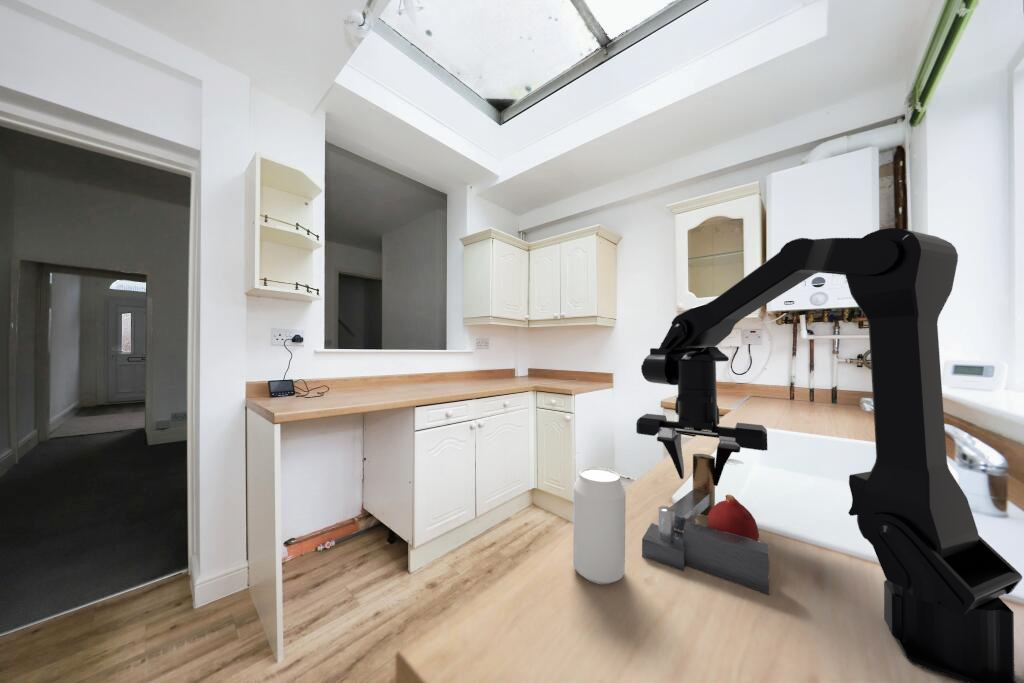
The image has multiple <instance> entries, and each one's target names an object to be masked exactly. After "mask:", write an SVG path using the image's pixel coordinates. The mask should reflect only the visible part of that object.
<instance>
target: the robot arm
mask: <svg viewBox="0 0 1024 683" xmlns="http://www.w3.org/2000/svg"><path fill="white" fill-rule="evenodd" d="M958 258H959V254H958V252H957V248H956V247H955V246H954V244H952V242H949V241H948V240H946V239H944V238H941V237H939V236H937V235H932V234H926V233H923V232H919V231H918V232H917V231H914V230H908V229H904V228H897V227H896V228H895V227H888V228H882V229H878V230H875V231H872V232H870V233H868V234H866V235H864V236H862V237H829V238H815V239H812V238H807V237H799V238H795V239H792V240H790V241H788V242H785V244H784V245H782V247H781V249H780V250H779V252H777V253H776V254H775V255H773V256H772V257H770V258H769V259H768V260H766V261H765V262H764V263H762V264H761V265H760V266H758V267H756V269H754V270H752V271H751V272H749V274H747V275H746V276H744V277H742V278H741V279H740V280H739V281H738V282H737V283H735V284H734V285H732V286H731V287H730V288H728V289H727V290H726V291H724V292H723V293H721V294H720V295H718V296H717V297H716V298H715V299H713V300H711V301H709V302H706V303H703V304H700V305H696V306H693V307H691V308H688V309H687V310H685V311H683V312H681V313H679V314H678V315H676V316H675V317H674V318H673V319H672V321H671V326H670V328H669V329H668V331H667V333H666V334H665V337H664V339H663V341H662V342H661V343H660V345H659V347H655V348H654V347H652V348H649V355H647V356H646V357H645V358H644V359H643V361H642V364H641V366H640V367H641V368H640V369H641V374H642V376H643V378H644V379H645V380H646V381H647V382H648V383H652V384H660V385H662V384H663V385H669V386H677V396H676V397H675V405H674V406H675V407H674V408H675V409H674V411H675V414H676V415H677V416H678V421H674V420H673V421H672V420H667V416H666V415H665V414H662V415H661V414H653V413H645V414H643V415H642V416H640V417H639V418H637V420H636V424H635V425H636V430H635V431H636V434H638V435H645V436H653V437H654V436H656V435H657V434H658V436H657V437H656V441H657V442H659V443H662V444H663V445H664V447H665V449H666V450H667V452H668V455H669V456H670V459H671V460H672V462H673V464H674V468H675V469H676V472H677V474H678V476H679V479H681V480H684V478H685V465H684V457H683V450H682V434H685V435H693V436H699V437H700V436H702V437H709V438H717V439H719V442H718V444H717V446H716V456H715V473H714V484H715V487H717V486H718V485H719V482H720V480H721V476H722V474H723V470H724V467H725V466H726V463H727V461H728V460H729V459H730V457H731V454H733V453H737V454H738V453H740V452H741V449H747V450H748V449H749V450H755V451H756V450H757V451H768V429H767V428H766V427H765V426H763V424H756V423H755V424H754V423H746V422H745V423H744V422H736V425H735V427H730V426H722V425H721V426H720V408H719V406H718V401H717V399H718V397H717V396H718V394H717V363H718V362H728V361H729V360H730V358H729V356H727V355H726V354H725V353H723V352H722V351H721V350H720V349H719V348H718V345H720V343H721V342H722V341H724V340H725V339H726V338H727V337H729V336H730V335H731V333H732V332H733V330H734V327H735V326H736V325H737V324H738V323H739V322H740V321H741V320H743V319H744V318H746V317H748V316H749V315H751V314H752V313H754V312H756V311H757V310H759V309H761V308H762V307H764V306H766V305H767V304H768V303H770V302H772V301H773V300H775V299H777V298H778V297H780V296H782V295H783V294H785V293H786V292H787V291H789V290H791V289H792V288H795V287H796V286H798V285H799V284H801V283H802V282H804V281H806V280H808V279H809V278H811V277H812V276H814V275H816V274H818V273H821V274H832V275H840V276H841V275H842V276H845V278H846V282H847V285H848V289H849V292H850V295H851V297H852V299H853V300H854V302H855V303H856V305H857V307H858V309H859V310H860V311H861V313H862V314H863V316H864V317H865V319H866V321H867V325H868V336H869V338H868V340H869V354H870V356H869V357H870V368H871V369H870V370H871V371H870V372H871V385H872V387H871V389H872V391H871V392H872V404H873V405H872V407H873V422H874V424H873V425H874V441H875V461H874V463H873V467H872V468H871V470H870V471H864V472H859V473H858V472H857V473H852V474H849V475H848V486H849V490H850V493H851V499H852V501H851V507H850V508H849V510H848V515H850V516H856V522H857V523H856V524H857V526H858V530H859V532H860V535H861V536H862V537H863V538H864V539H865V540H867V541H868V542H869V543H870V544H871V545H872V547H873V548H872V549H873V550H874V552H875V554H876V557H877V560H878V562H879V564H880V567H881V569H882V572H883V575H884V577H885V580H884V581H883V595H884V596H883V605H884V607H883V609H884V610H883V614H884V615H883V620H884V621H885V623H886V626H887V628H888V630H889V632H890V634H891V636H892V637H893V638H894V639H895V640H897V643H898V644H899V646H900V648H901V650H902V653H903V655H904V656H905V658H906V659H907V660H909V661H910V662H911V663H914V664H916V665H919V666H921V667H924V668H927V669H928V670H933V671H935V672H938V673H941V674H944V675H946V676H948V677H951V678H955V679H956V680H959V681H962V682H965V683H1018V682H1017V681H1016V679H1015V630H1014V629H1015V621H1014V611H1013V610H1012V609H1011V607H1009V606H1008V605H1007V604H1006V603H1005V602H1004V600H1002V599H1001V598H1000V596H1003V595H1009V594H1012V592H1013V591H1014V590H1015V589H1016V587H1017V586H1018V585H1019V583H1020V582H1021V581H1022V580H1023V575H1022V574H1021V573H1020V572H1019V571H1018V570H1017V569H1016V568H1015V567H1014V566H1012V564H1010V562H1008V561H1007V560H1006V559H1005V558H1004V557H1003V556H1002V555H1001V554H1000V553H999V552H998V551H997V550H995V549H994V548H993V547H992V546H991V545H990V544H989V543H988V542H986V541H985V540H984V539H983V537H982V536H980V535H979V531H978V527H977V525H976V521H975V518H974V516H973V513H972V509H971V506H970V503H969V500H968V498H967V496H966V494H965V493H964V491H963V489H962V488H961V486H960V484H959V483H958V482H957V480H956V479H955V477H954V475H953V474H952V472H951V470H950V468H949V465H948V458H947V456H948V455H947V444H946V443H947V442H946V428H945V427H946V426H945V414H944V400H943V388H942V371H941V359H940V358H941V356H940V345H939V344H940V342H939V331H938V330H939V329H938V328H939V327H938V321H939V317H940V315H941V313H942V310H943V309H944V307H945V305H946V303H947V301H948V299H949V297H950V296H951V294H952V291H953V287H954V281H955V277H956V272H957V266H958V262H959V261H958V260H959V259H958ZM716 362H717V363H716Z"/></svg>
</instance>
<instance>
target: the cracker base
mask: <svg viewBox="0 0 1024 683" xmlns="http://www.w3.org/2000/svg"><path fill="white" fill-rule="evenodd" d="M670 507H671V506H666V505H660V506H659V507H658V518H657V519H658V522H657V523H658V524H656V523H654V522H652V523H651V524H650V525H649V526H648V528H647V530H646V531H645V534H644V535H643V536H642V538H641V542H642V543H641V557H642V558H644V559H647V560H650V561H653V562H655V563H657V564H658V563H659V564H662V565H664V566H666V567H667V566H668V567H670V568H672V569H675V570H678V571H681V572H685V569H686V567H687V568H689V569H692V570H695V571H698V572H701V573H703V574H704V573H705V574H707V575H710V576H711V577H715V578H719V579H721V580H724V581H727V582H729V583H734V584H735V585H739V586H741V587H744V588H747V589H750V590H753V591H756V592H759V593H761V594H764V595H767V596H770V549H769V543H765V542H761V541H759V540H758V541H755V540H753V539H750V538H746V537H742V536H739V535H735V534H732V533H728V532H722V531H719V530H715V529H712V528H708V526H705V525H701V524H697V523H695V524H694V523H690V522H686V523H685V525H684V528H683V531H680V530H679V531H678V530H677V529H675V510H674V509H673V508H670Z"/></svg>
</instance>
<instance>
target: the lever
mask: <svg viewBox="0 0 1024 683" xmlns="http://www.w3.org/2000/svg"><path fill="white" fill-rule="evenodd" d="M715 463H716V456H713V455H710V454H706V453H693V454H692V490H690V491H689V492H688V493H686V494H685V495H684V496H682V497H681V498H680V499H678V501H676V502H675V503H673V504H672V505H670V506H669V507H670V508H673V509H674V510H675V530H677V531H678V530H679V531H680V532H683V528H684V525H685V523H686V522H690V523H694V524H696V519H697V517H698V516H700V515H701V516H705V517H708V514H709V512H710V510H711V509H712V508H713V507H714V506H715V505H716V486H715V484H714V473H715Z"/></svg>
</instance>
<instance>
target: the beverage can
mask: <svg viewBox="0 0 1024 683" xmlns="http://www.w3.org/2000/svg"><path fill="white" fill-rule="evenodd" d="M626 492H627V491H626V490H625V488H624V485H623V484H622V481H621V476H620V474H619V473H618V472H616V471H614V470H612V469H608V468H604V467H585V468H583V469H580V470H579V476H578V478H576V480H575V483H574V484H573V516H572V517H573V519H572V520H573V521H572V522H573V523H572V524H573V527H572V531H573V532H572V533H573V534H572V560H573V561H572V562H573V563H572V564H573V567H574V569H575V571H576V572H577V573H578V574H579V575H580V576H582V577H583V578H585V580H588V582H592V583H594V584H598V585H609V584H612V583H615V582H617V581H619V580H620V579H622V578H623V576H624V575H625V569H626V567H625V566H626V506H627V505H626V501H627V500H626V498H627V497H626V496H627V495H626V494H627V493H626Z"/></svg>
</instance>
